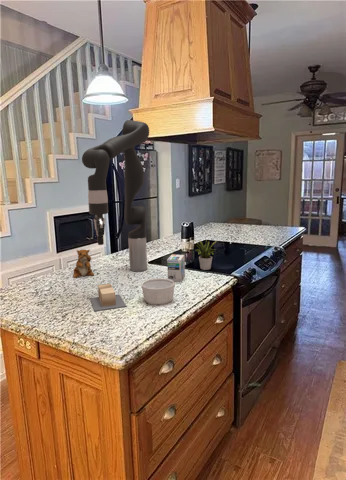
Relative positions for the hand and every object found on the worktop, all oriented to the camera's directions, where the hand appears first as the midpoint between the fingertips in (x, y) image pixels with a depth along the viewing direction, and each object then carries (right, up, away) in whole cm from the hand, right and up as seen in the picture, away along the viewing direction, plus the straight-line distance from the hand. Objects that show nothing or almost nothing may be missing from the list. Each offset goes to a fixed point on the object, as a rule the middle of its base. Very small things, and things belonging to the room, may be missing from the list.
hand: (100, 244), depth 139 cm
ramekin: (+24, -22, -2) cm, 33 cm away
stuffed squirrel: (-16, -16, +36) cm, 43 cm away
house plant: (+45, -13, +42) cm, 63 cm away
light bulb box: (+31, -17, +25) cm, 43 cm away
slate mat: (+4, -23, -4) cm, 24 cm away
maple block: (+1, -19, +2) cm, 19 cm away
